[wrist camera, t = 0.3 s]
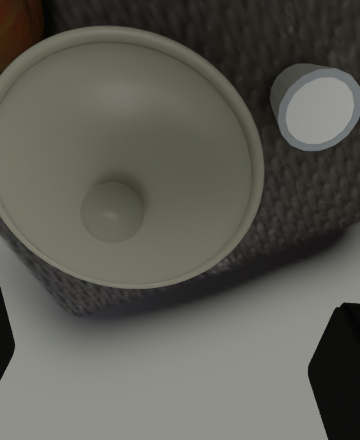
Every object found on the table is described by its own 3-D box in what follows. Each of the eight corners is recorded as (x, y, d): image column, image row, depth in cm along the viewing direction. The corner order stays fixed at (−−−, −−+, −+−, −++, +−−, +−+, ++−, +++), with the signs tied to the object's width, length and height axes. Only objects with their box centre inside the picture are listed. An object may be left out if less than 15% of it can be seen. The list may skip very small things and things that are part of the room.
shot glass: (343, 102, 35) (374, 123, 29) (281, 139, 37) (298, 165, 31) (316, 40, 32) (345, 48, 26) (251, 84, 34) (263, 101, 28)
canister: (29, 48, 33) (-161, 105, 15) (214, -14, 30) (247, -36, 12) (102, 206, 42) (38, 356, 24) (249, 170, 39) (297, 312, 21)
